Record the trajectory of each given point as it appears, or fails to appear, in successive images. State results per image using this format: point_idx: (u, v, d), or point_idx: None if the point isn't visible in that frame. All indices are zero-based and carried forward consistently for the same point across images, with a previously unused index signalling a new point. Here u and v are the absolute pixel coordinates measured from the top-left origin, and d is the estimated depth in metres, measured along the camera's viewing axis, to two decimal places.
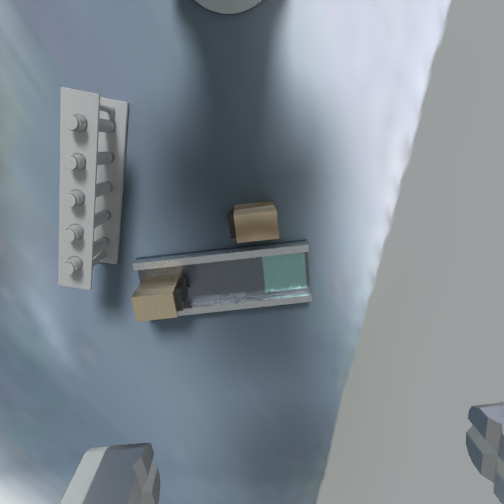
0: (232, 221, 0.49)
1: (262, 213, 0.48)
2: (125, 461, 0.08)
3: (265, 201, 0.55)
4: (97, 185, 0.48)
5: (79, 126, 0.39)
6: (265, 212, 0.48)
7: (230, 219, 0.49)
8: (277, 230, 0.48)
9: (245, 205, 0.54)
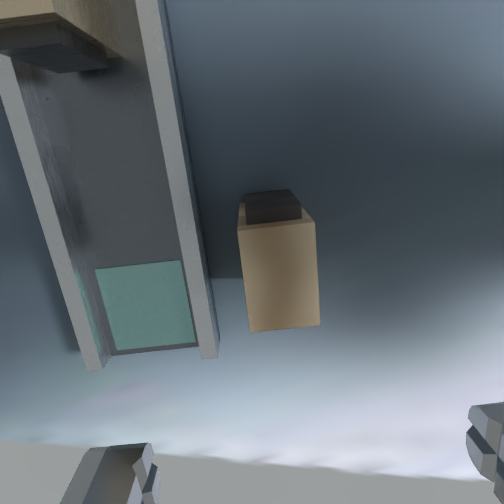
0: (290, 216, 0.19)
1: (315, 293, 0.19)
2: (125, 461, 0.08)
3: None
4: None
5: None
6: (317, 299, 0.19)
7: (296, 209, 0.18)
8: (270, 327, 0.20)
9: None
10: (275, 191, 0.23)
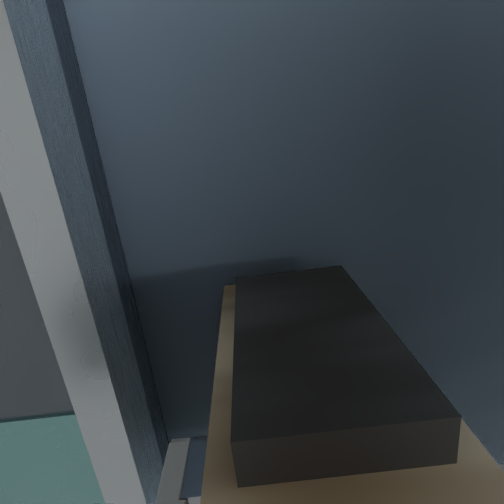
0: (411, 455, 0.05)
1: None
2: None
3: None
4: None
5: None
6: None
7: (440, 434, 0.05)
8: None
9: None
10: (310, 273, 0.09)
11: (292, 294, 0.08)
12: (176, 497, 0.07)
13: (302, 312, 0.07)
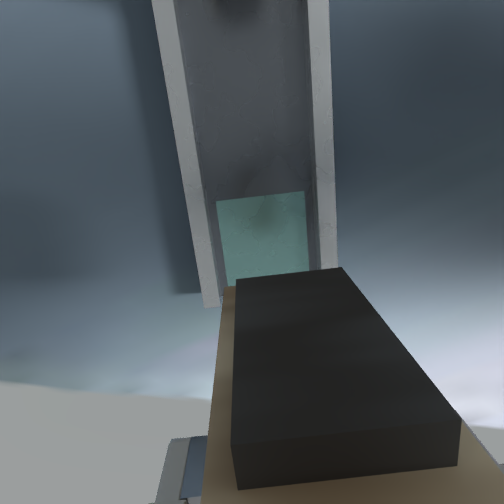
0: (411, 458, 0.05)
1: None
2: None
3: None
4: None
5: None
6: None
7: (441, 436, 0.05)
8: None
9: None
10: (310, 275, 0.09)
11: (292, 296, 0.08)
12: (176, 497, 0.07)
13: (302, 314, 0.07)
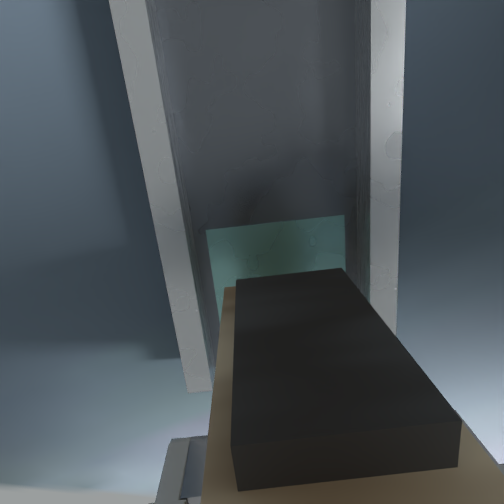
0: (411, 459, 0.05)
1: None
2: None
3: None
4: None
5: None
6: None
7: (441, 437, 0.05)
8: None
9: None
10: (310, 275, 0.09)
11: (292, 296, 0.08)
12: (176, 497, 0.07)
13: (302, 314, 0.07)
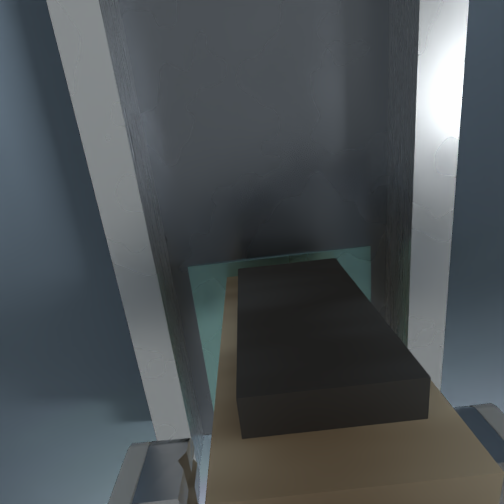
0: (389, 411, 0.05)
1: None
2: (170, 456, 0.08)
3: None
4: None
5: None
6: None
7: (413, 392, 0.05)
8: None
9: None
10: (306, 265, 0.10)
11: (290, 282, 0.09)
12: (127, 502, 0.07)
13: (298, 297, 0.08)
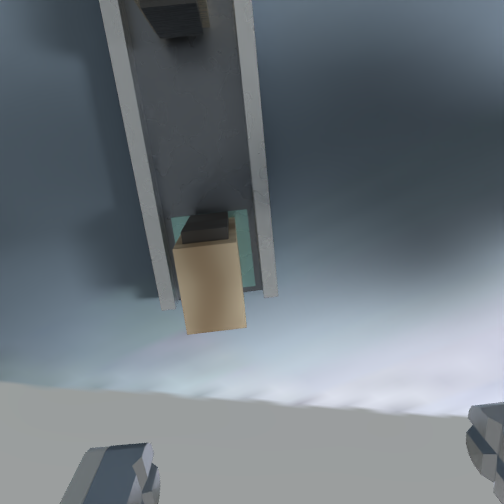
0: (218, 236, 0.22)
1: (240, 300, 0.23)
2: (125, 461, 0.08)
3: None
4: None
5: None
6: (242, 305, 0.23)
7: (223, 231, 0.22)
8: (204, 330, 0.23)
9: None
10: (215, 213, 0.27)
11: (206, 217, 0.26)
12: None
13: (206, 219, 0.25)
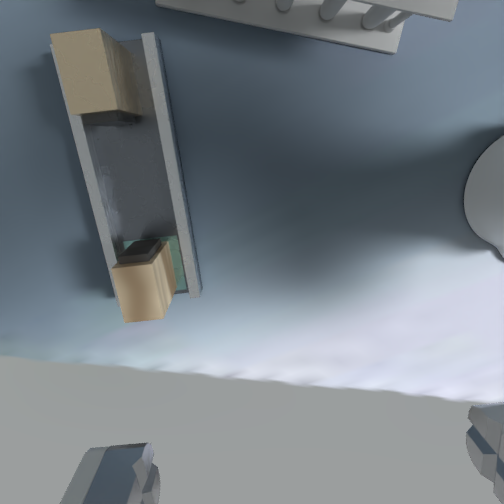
0: (142, 259, 0.34)
1: (157, 301, 0.35)
2: (125, 461, 0.08)
3: (175, 279, 0.43)
4: None
5: None
6: (159, 304, 0.35)
7: (145, 256, 0.34)
8: (135, 320, 0.35)
9: (168, 258, 0.40)
10: (151, 240, 0.39)
11: (142, 243, 0.38)
12: None
13: (141, 245, 0.37)
